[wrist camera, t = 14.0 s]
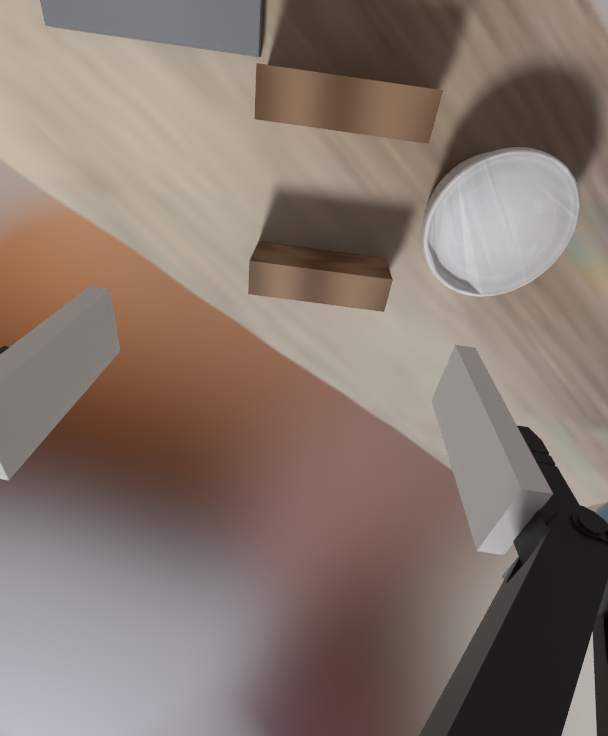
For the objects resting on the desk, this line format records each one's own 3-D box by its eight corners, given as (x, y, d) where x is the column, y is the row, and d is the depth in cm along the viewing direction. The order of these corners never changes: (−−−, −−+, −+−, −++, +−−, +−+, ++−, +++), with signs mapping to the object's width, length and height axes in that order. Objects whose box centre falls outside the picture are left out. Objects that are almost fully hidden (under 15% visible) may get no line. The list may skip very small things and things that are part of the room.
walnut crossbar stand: (427, 89, 29) (442, 90, 25) (378, 288, 38) (384, 311, 34) (266, 66, 29) (256, 63, 25) (257, 271, 38) (248, 294, 34)
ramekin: (386, 228, 35) (393, 247, 31) (485, 105, 30) (512, 108, 25) (472, 295, 39) (490, 321, 34) (576, 197, 33) (613, 213, 29)
